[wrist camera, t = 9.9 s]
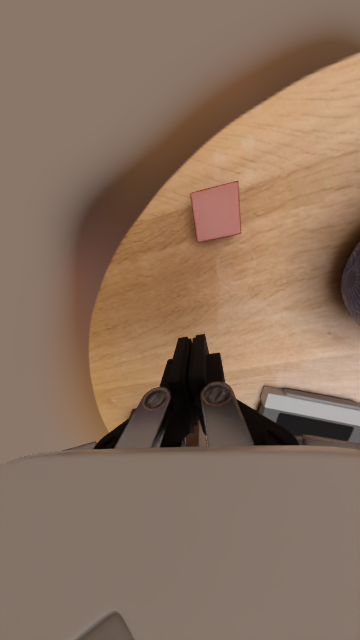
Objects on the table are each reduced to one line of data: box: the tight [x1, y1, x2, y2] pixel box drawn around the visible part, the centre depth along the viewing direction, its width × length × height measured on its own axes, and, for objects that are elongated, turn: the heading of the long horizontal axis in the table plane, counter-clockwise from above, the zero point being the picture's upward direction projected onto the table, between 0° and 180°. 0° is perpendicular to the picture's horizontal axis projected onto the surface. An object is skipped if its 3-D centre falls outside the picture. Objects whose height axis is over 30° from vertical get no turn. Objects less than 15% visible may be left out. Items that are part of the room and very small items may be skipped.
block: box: [190, 181, 241, 243], centre depth 19 cm, size 4×4×4 cm
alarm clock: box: [258, 386, 360, 443], centre depth 31 cm, size 17×5×16 cm
